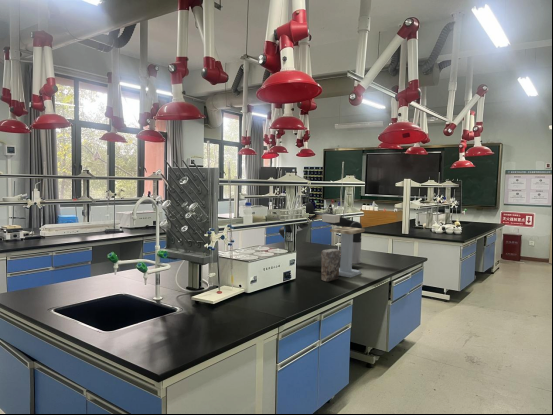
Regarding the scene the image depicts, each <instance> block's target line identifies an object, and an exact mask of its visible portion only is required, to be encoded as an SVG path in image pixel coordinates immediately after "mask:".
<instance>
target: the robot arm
mask: <svg viewBox="0 0 553 415" xmlns="http://www.w3.org/2000/svg"><path fill="white" fill-rule="evenodd" d="M303 205H305V206H306V213H309V214H315V215H313V216H309V217H308V218H309V219H310V220H312V219H313V220H312V222H314V221H315V220H317V219H314V218H315V217H317V215H325V214H331V215H337V214H336V213H333V212H330V211H329V212H328V211H325V212H318V211H315V210H314V209H315V207H314V205H313V203H311V202H306V203H304V204H303ZM310 223H311V222H309V223H306V224H302V225H300V226H298V229H297V232H299V231H302V230H304V229H305V228H307V227H308V226H309V224H310ZM325 223H326V224H329V225H332V226H333V227H334V226H336V227H338V228H340V227H352V228H361V229H363V225H362V224H361V222H360V221H357V220H356V221H355V220H352V219H348V218H345V217H343V216H341V215H340V221H339V222H337V223H330V222H325ZM278 233H279V235H280V236H281V237H282V239H284V226H282V227H280V228H279V229H278ZM361 254H362V232H360V233H356V234H353V249H352V265H353V264H355V265H356V264H361V259H362V258H361V257H362V256H361Z"/></svg>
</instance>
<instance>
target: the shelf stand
mask: <svg viewBox="0 0 553 415" xmlns="http://www.w3.org/2000/svg"><path fill="white" fill-rule="evenodd" d="M365 230H366V229H365V228H362V229H361V228H352V227H335V228H330V229H329V232H330V233H335V234H341V236H340V237H341V238H340V239H341V242H340V252H341V253H340V263H339V276H341V277H347V278H350V279H351V278H353V277H356V276H358V275H361V274H362V270H360V269H359V270H358V269H353V268H352V267H353V263H352V249H353V234H356V233H360V232H361V233H364V232H365Z"/></svg>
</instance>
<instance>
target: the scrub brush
mask: <svg viewBox="0 0 553 415" xmlns="http://www.w3.org/2000/svg"><path fill="white" fill-rule="evenodd" d="M309 216H313V215H309ZM340 216H341V215H339V214H336V215H331V214H325V215H322V216H320V215H317V217H315V218H314V219H316V220H317V219H322V221H321V222H324V223H326V222H330V223H337V222H339V221H340Z"/></svg>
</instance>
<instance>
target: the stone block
mask: <svg viewBox="0 0 553 415" xmlns="http://www.w3.org/2000/svg"><path fill="white" fill-rule="evenodd" d="M320 254H321V255H320V260H321V269H320V271H321V272H320V273H321V280H322V281H324V282H331V281H335V280H338V279H339V276H340V275H339V268H340V260H341V249H340V250H339V249H336V248H329V249H323V250H322V251H321V252H320Z"/></svg>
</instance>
